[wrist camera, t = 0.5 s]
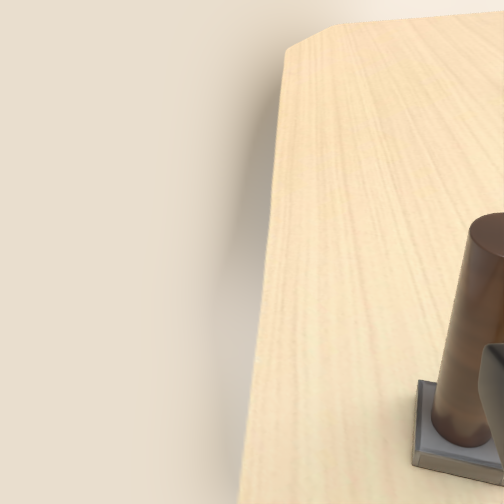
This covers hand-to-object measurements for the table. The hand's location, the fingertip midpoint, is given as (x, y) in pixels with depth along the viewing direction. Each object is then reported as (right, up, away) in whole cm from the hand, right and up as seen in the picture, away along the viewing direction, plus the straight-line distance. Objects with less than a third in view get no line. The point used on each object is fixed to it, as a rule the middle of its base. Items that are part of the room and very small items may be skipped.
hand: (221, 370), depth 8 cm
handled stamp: (+12, -8, +17) cm, 22 cm away
